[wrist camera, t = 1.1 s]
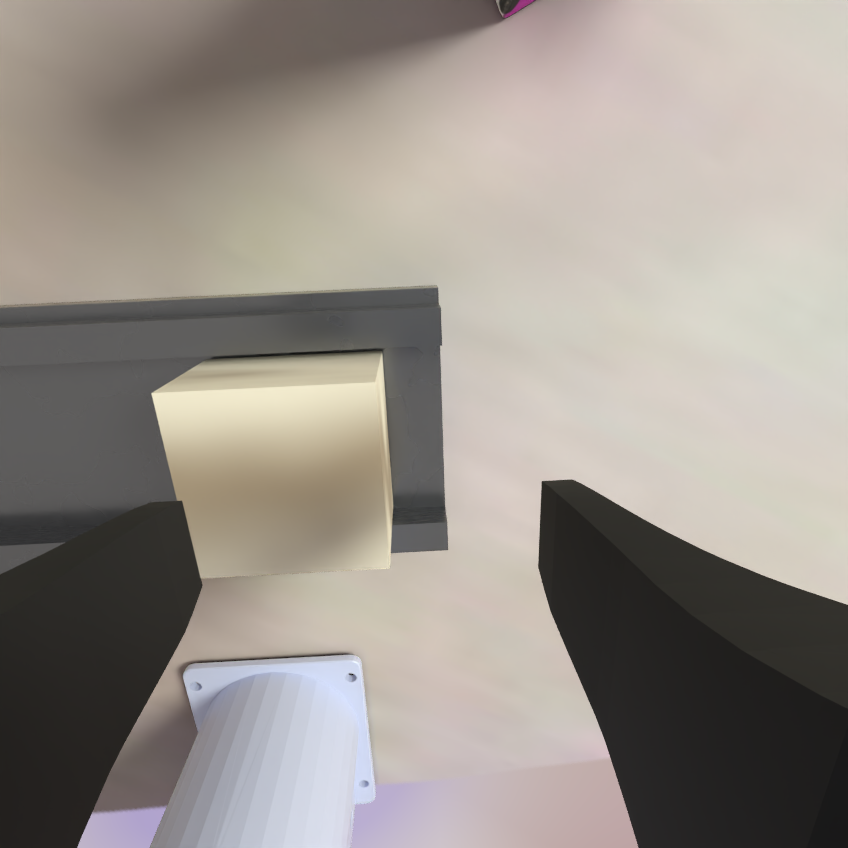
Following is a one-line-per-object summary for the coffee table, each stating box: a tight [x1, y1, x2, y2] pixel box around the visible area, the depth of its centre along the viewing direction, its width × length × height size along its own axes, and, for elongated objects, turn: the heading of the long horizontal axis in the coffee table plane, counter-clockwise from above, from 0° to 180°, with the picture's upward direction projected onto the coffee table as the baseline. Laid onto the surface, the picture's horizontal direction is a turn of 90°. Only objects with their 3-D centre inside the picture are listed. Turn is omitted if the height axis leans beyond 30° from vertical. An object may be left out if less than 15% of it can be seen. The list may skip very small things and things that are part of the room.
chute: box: [0, 285, 448, 574], centre depth 18 cm, size 10×22×2 cm, turn 92°
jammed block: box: [151, 351, 393, 579], centre depth 17 cm, size 6×6×4 cm
